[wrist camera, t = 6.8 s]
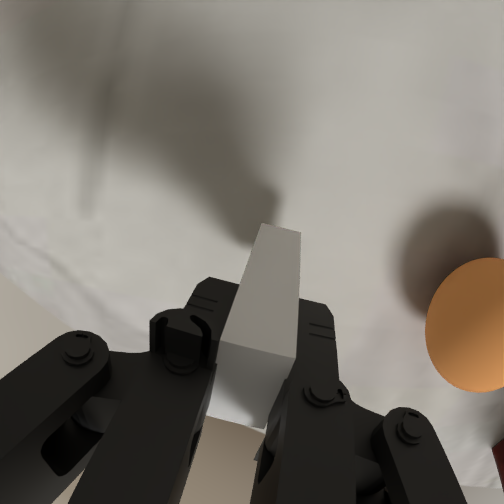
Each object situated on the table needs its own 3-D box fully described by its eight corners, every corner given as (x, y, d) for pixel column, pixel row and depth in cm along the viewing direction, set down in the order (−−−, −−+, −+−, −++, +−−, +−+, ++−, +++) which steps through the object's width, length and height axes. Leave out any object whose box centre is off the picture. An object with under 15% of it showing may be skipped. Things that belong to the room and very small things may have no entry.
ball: (556, 275, 10) (463, 231, 14) (575, 313, 6) (440, 246, 10) (507, 373, 12) (426, 329, 16) (493, 439, 8) (385, 377, 12)
